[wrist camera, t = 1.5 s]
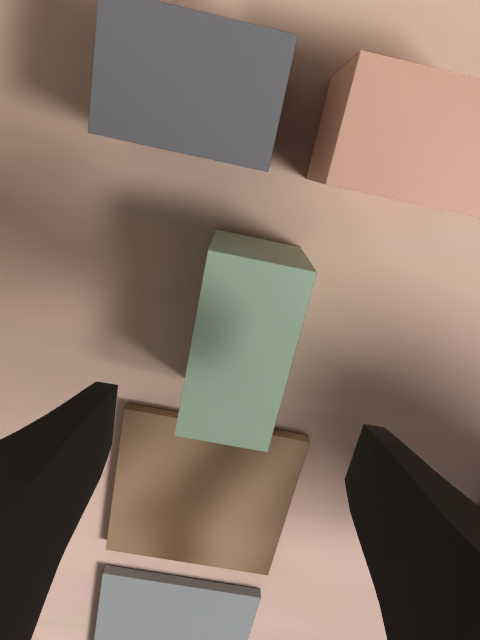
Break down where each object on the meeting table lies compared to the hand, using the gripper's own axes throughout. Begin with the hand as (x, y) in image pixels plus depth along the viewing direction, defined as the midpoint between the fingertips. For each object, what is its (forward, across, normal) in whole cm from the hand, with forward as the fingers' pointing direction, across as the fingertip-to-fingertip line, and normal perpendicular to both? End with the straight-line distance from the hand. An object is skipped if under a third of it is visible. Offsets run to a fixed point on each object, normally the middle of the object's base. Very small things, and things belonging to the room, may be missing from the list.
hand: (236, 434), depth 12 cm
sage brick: (+10, 0, 0) cm, 10 cm away
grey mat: (+9, 0, +23) cm, 25 cm away
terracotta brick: (+10, -5, -9) cm, 14 cm away
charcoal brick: (+10, +3, -9) cm, 14 cm away
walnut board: (+10, 0, +11) cm, 15 cm away
